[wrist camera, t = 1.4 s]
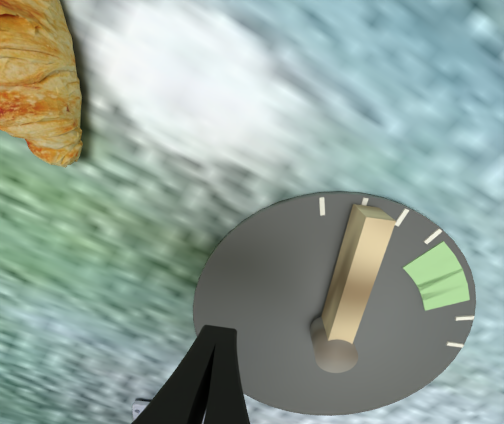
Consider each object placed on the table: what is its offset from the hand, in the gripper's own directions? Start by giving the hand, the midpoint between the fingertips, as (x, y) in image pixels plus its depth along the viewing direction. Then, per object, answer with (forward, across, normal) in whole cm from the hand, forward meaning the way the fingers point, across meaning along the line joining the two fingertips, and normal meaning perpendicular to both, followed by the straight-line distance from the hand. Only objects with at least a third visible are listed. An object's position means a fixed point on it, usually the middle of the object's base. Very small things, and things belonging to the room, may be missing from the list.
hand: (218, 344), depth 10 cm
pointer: (+7, -7, +1) cm, 10 cm away
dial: (+8, -7, +5) cm, 12 cm away
